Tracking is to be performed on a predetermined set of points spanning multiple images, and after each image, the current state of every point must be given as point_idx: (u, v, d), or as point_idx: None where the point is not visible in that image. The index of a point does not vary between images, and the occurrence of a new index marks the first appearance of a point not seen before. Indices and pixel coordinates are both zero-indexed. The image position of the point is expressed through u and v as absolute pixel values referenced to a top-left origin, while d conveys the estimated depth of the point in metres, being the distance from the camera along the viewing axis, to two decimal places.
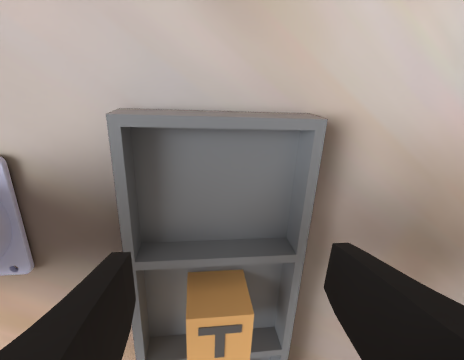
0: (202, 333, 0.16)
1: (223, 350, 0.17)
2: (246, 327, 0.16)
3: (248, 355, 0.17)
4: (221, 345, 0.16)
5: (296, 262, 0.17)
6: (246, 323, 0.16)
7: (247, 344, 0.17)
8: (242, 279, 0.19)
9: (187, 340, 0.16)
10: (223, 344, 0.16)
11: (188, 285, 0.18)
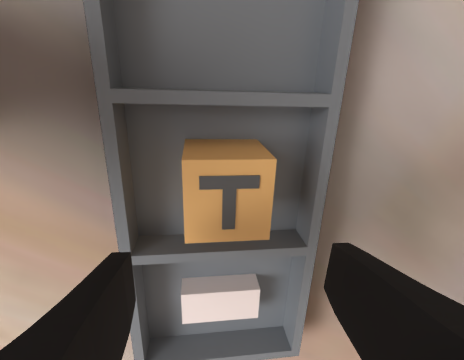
0: (205, 187, 0.11)
1: (233, 219, 0.12)
2: (265, 182, 0.12)
3: (267, 230, 0.13)
4: (230, 209, 0.12)
5: (330, 107, 0.13)
6: (266, 174, 0.12)
7: (266, 211, 0.12)
8: (257, 143, 0.14)
9: (184, 197, 0.11)
10: (234, 207, 0.12)
11: (186, 144, 0.13)
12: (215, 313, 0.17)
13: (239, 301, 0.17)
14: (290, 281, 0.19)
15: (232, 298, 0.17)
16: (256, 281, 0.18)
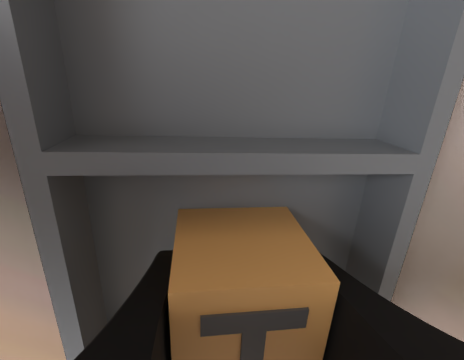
0: (211, 330, 0.06)
1: None
2: (317, 316, 0.07)
3: None
4: (255, 359, 0.07)
5: (416, 174, 0.08)
6: (320, 305, 0.07)
7: (314, 356, 0.07)
8: (290, 220, 0.09)
9: (173, 347, 0.06)
10: (260, 356, 0.07)
11: (178, 228, 0.08)
12: None
13: None
14: None
15: None
16: None
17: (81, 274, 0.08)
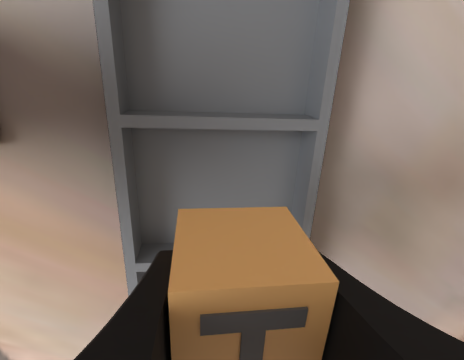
0: (211, 329, 0.06)
1: None
2: (316, 316, 0.07)
3: None
4: (254, 358, 0.07)
5: (318, 131, 0.14)
6: (319, 304, 0.07)
7: (313, 355, 0.07)
8: (289, 220, 0.09)
9: (173, 346, 0.06)
10: (260, 356, 0.07)
11: (178, 227, 0.08)
12: None
13: None
14: None
15: None
16: None
17: (131, 190, 0.15)
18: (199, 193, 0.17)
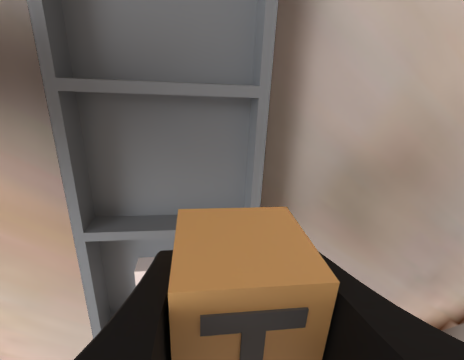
0: (211, 329, 0.06)
1: None
2: (316, 316, 0.07)
3: None
4: (254, 359, 0.07)
5: (260, 98, 0.14)
6: (319, 305, 0.07)
7: (314, 356, 0.07)
8: (290, 220, 0.09)
9: (173, 347, 0.06)
10: (260, 356, 0.07)
11: (178, 227, 0.08)
12: None
13: None
14: None
15: None
16: None
17: (76, 157, 0.15)
18: (150, 164, 0.17)
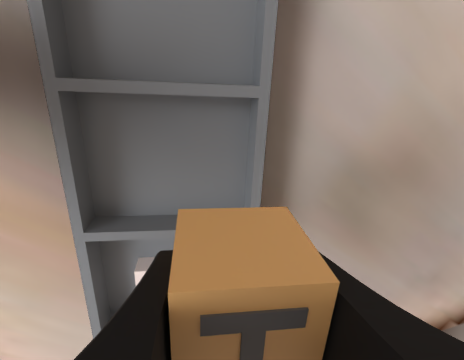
0: (211, 329, 0.06)
1: None
2: (316, 316, 0.07)
3: None
4: (254, 359, 0.07)
5: (260, 98, 0.14)
6: (319, 305, 0.07)
7: (314, 356, 0.07)
8: (290, 220, 0.09)
9: (173, 347, 0.06)
10: (260, 356, 0.07)
11: (178, 227, 0.08)
12: None
13: None
14: None
15: None
16: None
17: (76, 157, 0.15)
18: (150, 164, 0.17)
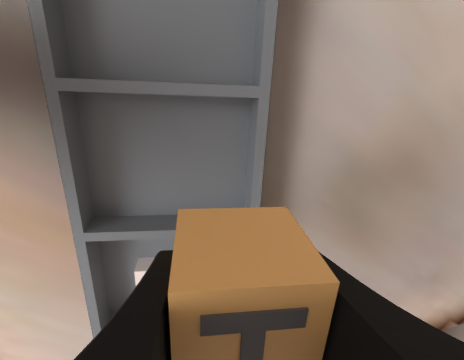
0: (211, 329, 0.06)
1: None
2: (316, 316, 0.07)
3: None
4: (254, 359, 0.07)
5: (260, 98, 0.14)
6: (319, 305, 0.07)
7: (314, 356, 0.07)
8: (290, 220, 0.09)
9: (173, 347, 0.06)
10: (260, 356, 0.07)
11: (178, 227, 0.08)
12: None
13: None
14: None
15: None
16: None
17: (76, 157, 0.15)
18: (150, 164, 0.17)
